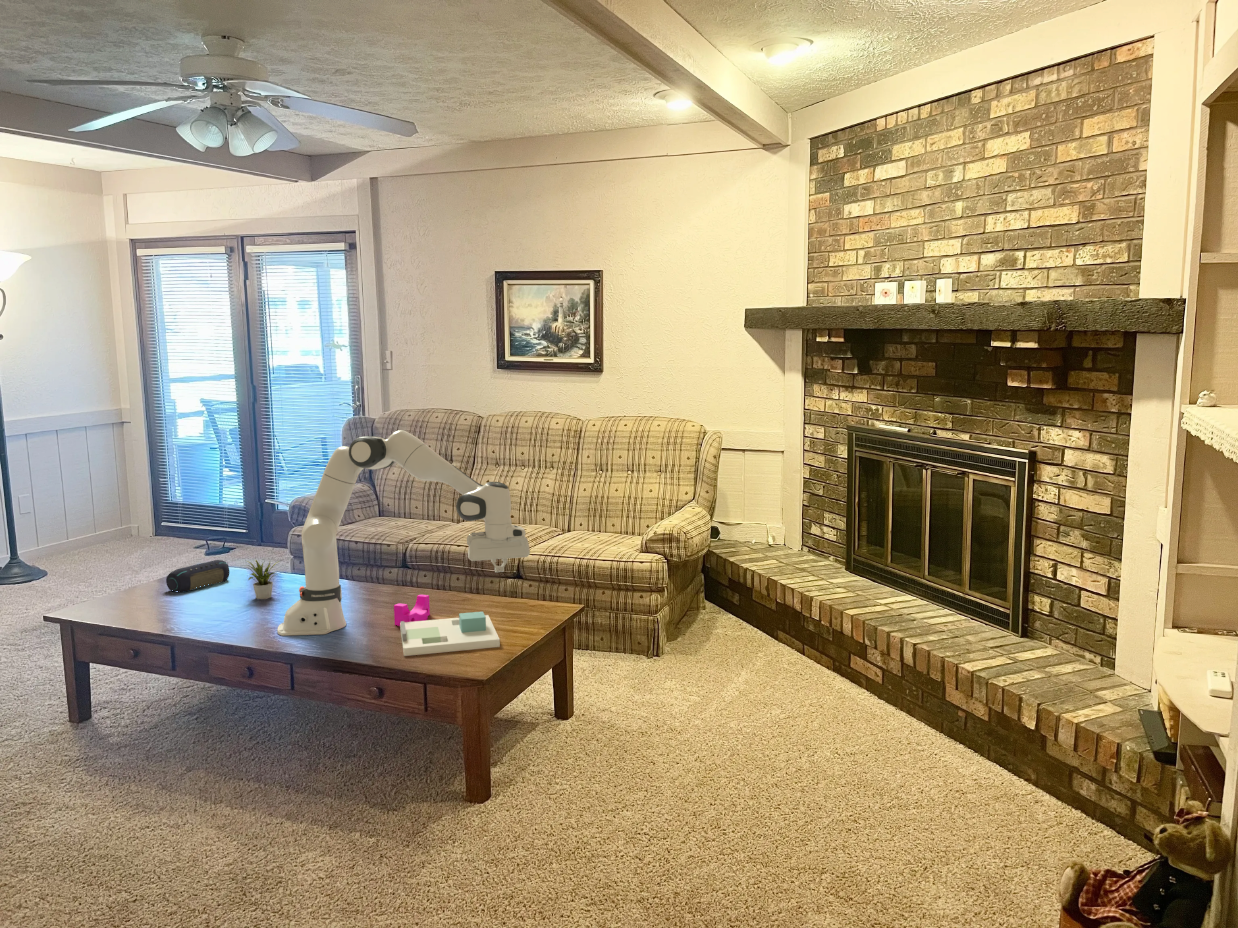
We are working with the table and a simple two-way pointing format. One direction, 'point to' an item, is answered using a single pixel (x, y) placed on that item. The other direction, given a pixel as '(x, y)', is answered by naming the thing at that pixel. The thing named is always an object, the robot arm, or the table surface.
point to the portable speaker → (198, 575)
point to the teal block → (472, 622)
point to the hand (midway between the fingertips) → (499, 571)
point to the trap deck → (444, 637)
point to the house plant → (262, 581)
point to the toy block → (412, 611)
